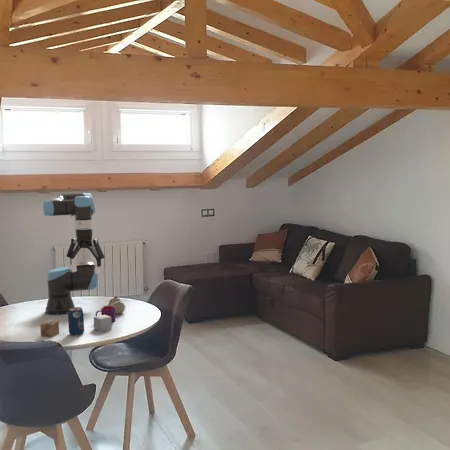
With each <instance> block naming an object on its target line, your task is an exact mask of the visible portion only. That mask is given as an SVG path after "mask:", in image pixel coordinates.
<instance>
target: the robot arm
mask: <svg viewBox="0 0 450 450" xmlns="http://www.w3.org/2000/svg"><path fill="white" fill-rule="evenodd" d="M94 201H95V200H94V198H93V195H92V194H91V193H90V192H88V193H87V192H78V193H77V192H75V193H60V194H57V195H54V196H51V197H50V198H49V199H48V200H44V201H43V203H42V204H43V207H42V208H43V216H46V217H56V216H70V217H71V219H72V220H73V222H74V223H73V226H74V237H73V238H71V240H70V245H69V248H68V250H67V252H66V257H67V258H69V260H70V261H69V262H70V265H71V268H70V267H69V266H62V267H56V268H53V269H51V270H49V271H48V272H47V290H48V291H47V293H48V296H47V297H48V299H47V303H46V306H45V313H46V314H48V315H64V314H68V312H69V309H70V308H75V307H76V305H75V304H74V301H73V298H72V292H76V291H77V292H78V291H79V292H80V291H92V290H95V289H96V288H97V287H98V280H99V279H98V278H99V274H100V273H101V266H102V259H105V255H104V252H103V250H102V248H101V246H100V243H99V239H98V238H94V239H93V229H92V228H93V220H92V219H93V216H94V214H96V208H95V203H94ZM93 257H94V259H95V260H94V262H93Z"/></svg>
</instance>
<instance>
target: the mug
mask: <svg viewBox="0 0 450 450" xmlns="http://www.w3.org/2000/svg"><path fill="white" fill-rule="evenodd" d="M99 312H100V313H101V315H107V316H110V317H111V324H112V323H114V322H116V314H115V307H110V306H109V307H104V306H103V307H101V308H100V309H99V310H97V311H96V312H95V317H96V316H98V313H99Z"/></svg>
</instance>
